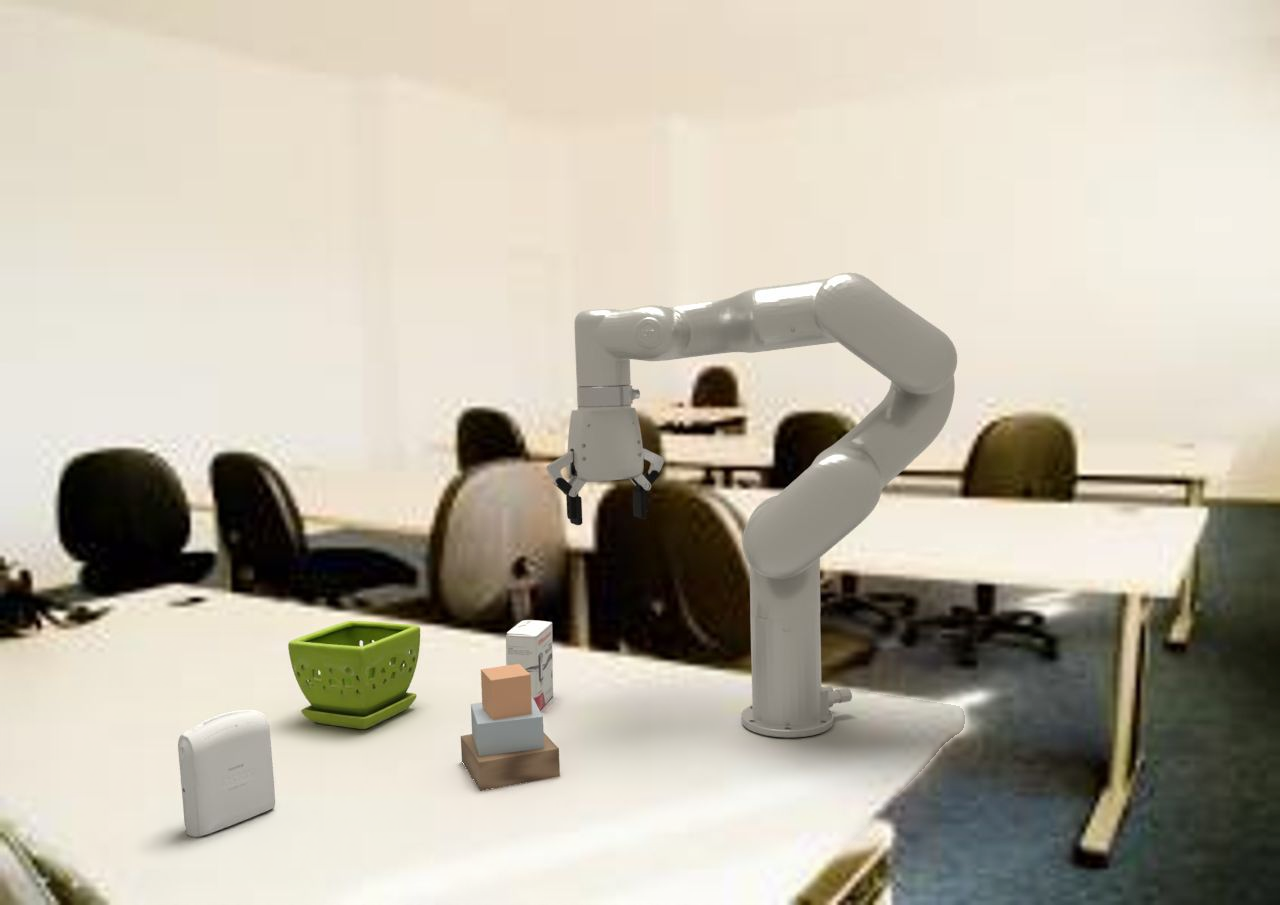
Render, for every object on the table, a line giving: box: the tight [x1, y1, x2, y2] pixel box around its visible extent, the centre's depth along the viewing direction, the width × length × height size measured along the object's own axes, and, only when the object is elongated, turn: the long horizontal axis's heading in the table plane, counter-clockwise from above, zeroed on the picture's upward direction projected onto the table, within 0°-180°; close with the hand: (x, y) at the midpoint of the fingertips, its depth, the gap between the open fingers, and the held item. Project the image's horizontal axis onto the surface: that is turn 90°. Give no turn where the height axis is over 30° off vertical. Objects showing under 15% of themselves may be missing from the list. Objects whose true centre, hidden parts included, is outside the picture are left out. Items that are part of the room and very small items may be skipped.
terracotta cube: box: [480, 664, 532, 720], centre depth 133 cm, size 5×5×5 cm
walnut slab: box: [460, 731, 561, 792], centre depth 134 cm, size 10×10×4 cm
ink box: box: [505, 619, 554, 711], centre depth 158 cm, size 9×5×12 cm, turn 168°
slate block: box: [470, 697, 545, 756], centre depth 134 cm, size 8×8×4 cm
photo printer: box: [177, 709, 276, 838], centre depth 121 cm, size 10×4×12 cm, turn 140°
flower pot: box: [287, 620, 421, 730], centre depth 155 cm, size 14×14×13 cm
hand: (608, 520), depth 150 cm, fingers open, 9 cm apart
